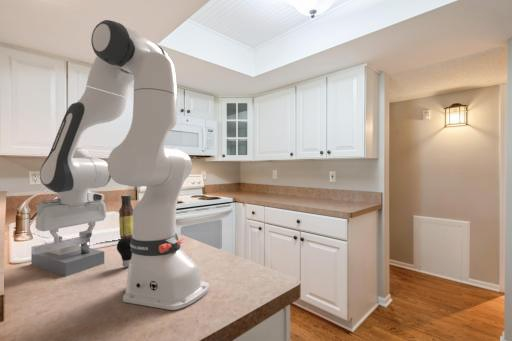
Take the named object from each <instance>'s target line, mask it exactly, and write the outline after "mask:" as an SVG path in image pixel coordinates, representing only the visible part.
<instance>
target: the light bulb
mask: <svg viewBox="0 0 512 341" xmlns="http://www.w3.org/2000/svg"><path fill="white" fill-rule="evenodd" d="M130 243H131V237H124V238H122V239H121V238H120V240H118V242H117V244H116V250H117V252H118V253H119V255H120V256H121V260H122V266H123V267H125V268H129V264H130V261H131V257H132V252H131V246H130Z"/></svg>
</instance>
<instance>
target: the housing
mask: <svg viewBox="0 0 512 341" xmlns="http://www.w3.org/2000/svg"><path fill="white" fill-rule="evenodd" d="M103 264H105V251H103V250H99V249H95V248H91V247H89V253H87V254H81V245H79V250H78V251H74V252H71V253H67V254H63V255H57V254H53V253H50V252H45V253H40V254H36V255H33V254H31V266H34V267H37V268H39V269H43V270H46V271H49V272H53V273H54V274H59V275H61V276H64V277H67V276H72V275H73V274H77V273H81V272H83V271H86V270H89V269H91V268H94V267H97V266H100V265H103Z"/></svg>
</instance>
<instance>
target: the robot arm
mask: <svg viewBox="0 0 512 341" xmlns="http://www.w3.org/2000/svg"><path fill="white" fill-rule="evenodd" d="M90 40H91V43H90V44H91V46H92V50H93V52H94V54H95V55H96V57H95V59H94V61H93V63H92V65H91V68H90V71H89V73H88V76H87V80H86V85H85V89H84V92H83V94H82V96H81V97H80V98H79V100H77V102H73V103H71V104H70V105H69V107H68V108H67V110H66V111H65V113H64V116H63V119H62V121H61V123H60V126H59V129H58V131H57V133H56V136H55V138H54V141H53V143H52V146H51V148H50V151H49V153H48V156H47V157H46V159H45V160H44V162H43V164H42V165H41V168H40V169H39V170H40V171H39V179H40V182H41V184H42V185H43V186H45V188H47V189H48V190H50V191H51V192H54V193H57V194H56V197H57V198H54V199H53V198H52V199H43V200H42V201H40V202H38V203H37V204H36V205H35V206H36V207H35V208H36V210H35V212H36V218H35V225H34V226H35V229H36V230H37V231H39V232H48V231H49V234H50V235H51V236H52V238H53V241H54V242H57V241H62V239H63V236H61V235H59V234H58V232H59V229H63V228H64V229H65V228H69V227H74V226H81V225H85V224H87V226H88V227H87V229H86V230H84V231H86V232H90V233H91V236H93V230H94V229H95V226H96V223H97V222H101V221H104V220H105V219H106V217H107V209H106V203H105V202H104V200H105V195H104V194H102V193H99V192H94V191H90V189H99V188H103V187H106V186H107V185H108V184H109V183H110V181H111V179H112V180H113V182H115V183H116V184H119V185H123V186H127V187H128V186H129V187H134V188H136V187H137V188H139V187H146V188H145V190H144V194H143V196H142V197H141V199H140V200H139V201H138V202H137V203H135V205H134V207H133V208H132V209H133V237H131V243H130V246H131V252H132V257H131V261H130V264H129V267H127V268H128V269H127V270H128V271H127V277H126V278H127V280H126V288H125V291H124V292H125V293H124V294H123V296H122V302H123V303H126V304H127V303H128V304H135V305H141V306H146V307H151V308H159V309H163V310H170V311H176V310H180V309H182V308H185V307H189V305H192V304H194V303H195V302H196V301H198V300H200V299H201V298H202V297H204V296H205V295H206V294H207V293H208V292H209V290H210V284H209V282H206V281H204V280H201V271H200V268H199V266H198V265H197V263H196V262H194V261H193V260H192V259H191V258H190V256H188V254H186V253H185V251H183V249H182V247H181V244H183V243H184V242H183V240H184V238H181V239H179V237H178V234H177V233H176V229H177V228H176V226H177V224H176V223H177V222H176V221H177V206H178V201H179V196H180V193H181V190H182V188H183V185H184V182H185V181H186V180H187V178H188V177H189V176H190V175H191V173H192V169H193V164H192V163H193V162H192V159H191V157H190V155H188V153H187V152H185V151H182V150H180V148H179V149H178V148H176V147H172V146H164V145H165V141H166V138H167V135H168V133H169V131H171V130H172V129H174V128H175V127H176V124H177V118H178V117H177V115H178V114H177V113H178V112H177V111H178V110H177V108H178V107H177V106H178V90H177V88H178V87H177V76H176V75H177V74H176V68H175V65H174V63H173V61H172V59H171V58H170V56H169V55H168V52H167V51H166V50H164V49H163V48H162V47H161V46H160V45H157V44H155V43H154V42H153V41H151V40H150V39H148V38H147V37H145V35H143V34H141V33H139V32H137V31H135V30H133V29H131V28H129V27H126V26H125V25H123V24H122V23H120V22H116V21H115V20H109V19H105V20H102V21H100V22H98V24H96V26H94V29H93V31H92V33H91V39H90ZM131 82H133V102H132V103H133V105H132V120H131V124H130V128H129V129H128V132H127V135H125V138H124V140H122V141H121V142H120V144H118V145H117V146H116V147H114V148H113V149H112V150H111V152H110V153H109V154H108V155H109V156H108V157H107V161H106V160H105V159H101V158H99V157H96V156H94V155H91V154H90V152H89V151H88V150H87V149H86V148H82V147H78V144H79V142H80V140H81V136H82V135H83V133H84V132H85V131H86V130H88V129H89V128H91V127H93V126H96V125H100V124H105V123H109V122H112V121H115V120H116V119H119V117H121V116H122V115H123V114H124V111H125V108H126V105H127V99H128V97H129V91H130V85H131Z"/></svg>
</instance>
